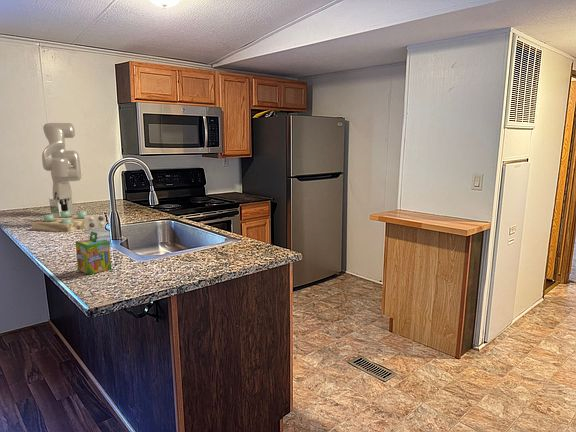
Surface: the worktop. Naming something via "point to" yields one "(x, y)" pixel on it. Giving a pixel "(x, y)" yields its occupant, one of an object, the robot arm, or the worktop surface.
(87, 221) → the plaque
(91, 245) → the chalk box
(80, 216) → the button
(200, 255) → the worktop surface
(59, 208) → the syrup box
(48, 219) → the button
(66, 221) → the button
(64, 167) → the robot arm
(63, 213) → the button
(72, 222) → the board
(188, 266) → the worktop surface
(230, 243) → the worktop surface
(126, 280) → the worktop surface
